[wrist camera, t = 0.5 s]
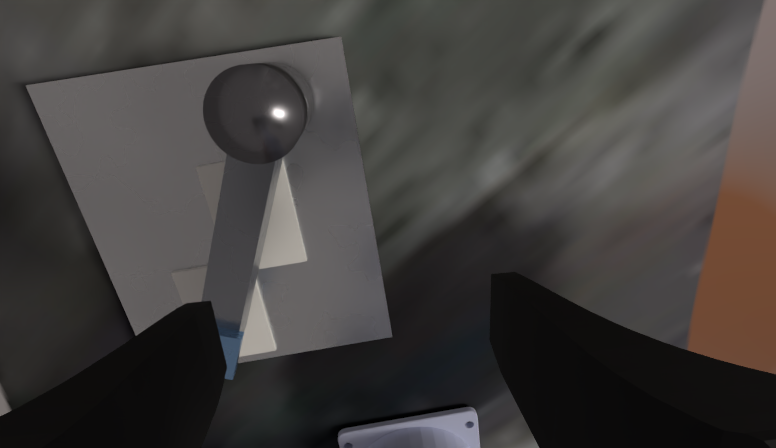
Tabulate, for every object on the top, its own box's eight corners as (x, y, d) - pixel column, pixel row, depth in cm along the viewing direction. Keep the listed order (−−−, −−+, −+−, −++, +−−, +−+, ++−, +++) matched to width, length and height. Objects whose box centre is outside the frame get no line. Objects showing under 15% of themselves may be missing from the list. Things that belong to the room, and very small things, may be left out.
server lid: (390, 327, 22) (392, 336, 22) (160, 366, 22) (154, 377, 21) (341, 37, 17) (341, 36, 16) (39, 84, 17) (25, 85, 16)
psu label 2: (276, 348, 21) (275, 350, 21) (206, 360, 21) (205, 362, 21) (250, 258, 19) (249, 260, 19) (172, 271, 19) (171, 273, 19)
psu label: (307, 259, 20) (306, 261, 20) (231, 271, 20) (229, 273, 19) (281, 152, 18) (280, 153, 18) (197, 165, 18) (195, 167, 18)
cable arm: (242, 51, 16) (210, 50, 12) (321, 75, 17) (313, 81, 13) (196, 319, 20) (162, 377, 16) (261, 331, 21) (242, 391, 17)
